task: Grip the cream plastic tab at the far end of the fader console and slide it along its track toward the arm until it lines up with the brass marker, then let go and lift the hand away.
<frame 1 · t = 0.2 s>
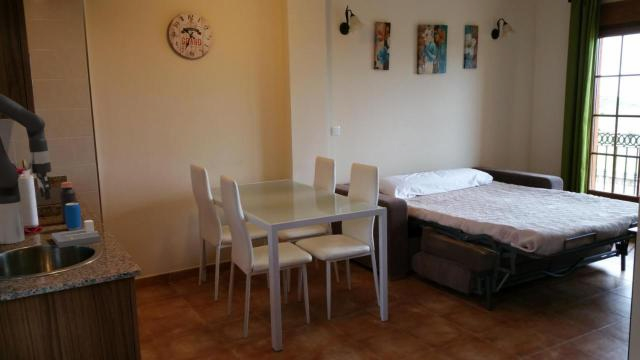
hand: (45, 198, 228), 17 cm above the worktop, tool pointing down, fingers open, 8 cm apart
beverage can: (74, 229, 245), on the worktop
fader tab: (89, 226, 226), point 5 cm above the worktop, slide at 8.0 cm
fader console: (76, 240, 224), on the worktop
bottle: (70, 222, 258), on the worktop
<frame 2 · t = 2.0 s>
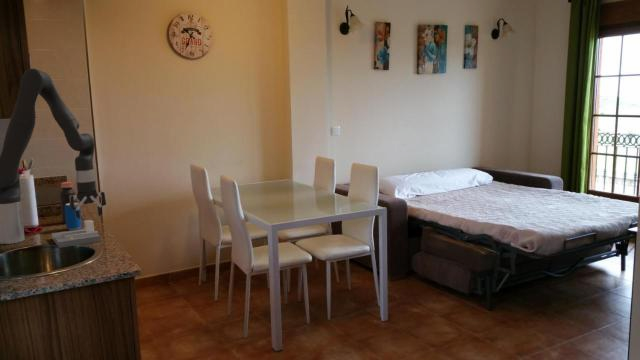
hand: (89, 217, 225), 9 cm above the worktop, tool pointing down, fingers open, 8 cm apart
nothing on the worktop moved.
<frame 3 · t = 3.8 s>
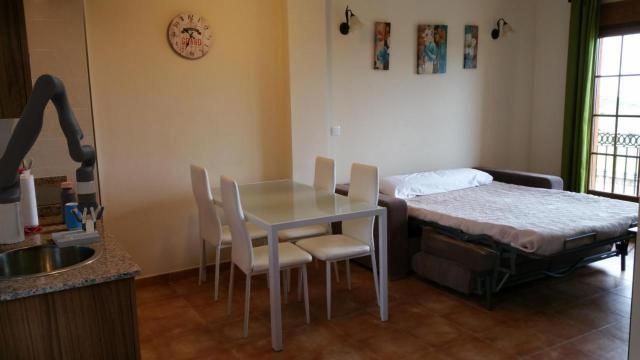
hand: (89, 230, 226), 4 cm above the worktop, tool pointing down, fingers closed on fader tab, 3 cm apart
fader tab: (89, 226, 226), point 5 cm above the worktop, slide at 8.0 cm, touching gripper
everything else where it was.
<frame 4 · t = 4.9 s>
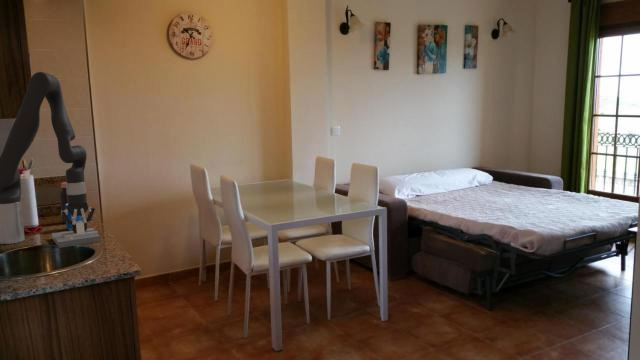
hand: (79, 231, 224), 4 cm above the worktop, tool pointing down, fingers closed on fader tab, 3 cm apart
fader tab: (79, 227, 223), point 5 cm above the worktop, slide at 4.1 cm, touching gripper
everything else where it was.
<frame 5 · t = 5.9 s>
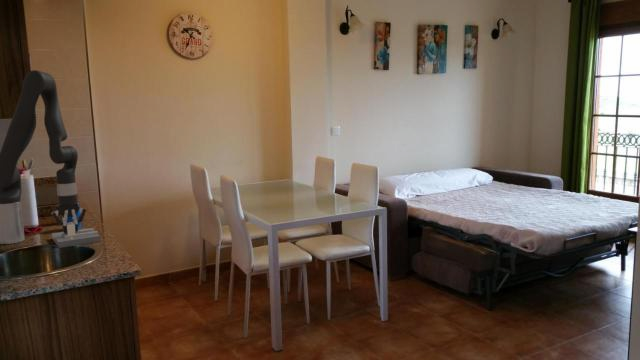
hand: (70, 233, 222), 4 cm above the worktop, tool pointing down, fingers closed on fader tab, 3 cm apart
fader tab: (70, 229, 221), point 5 cm above the worktop, slide at 0.5 cm, touching gripper
everything else where it was.
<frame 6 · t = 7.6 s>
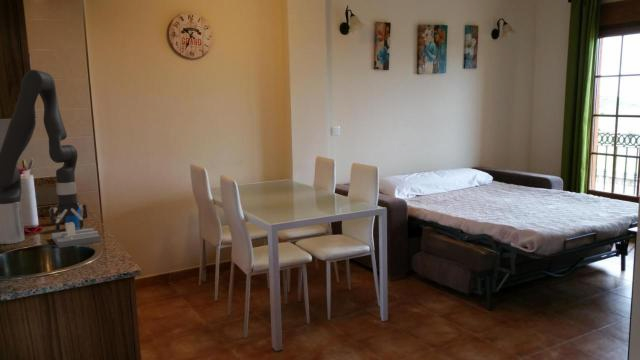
hand: (69, 229, 221), 5 cm above the worktop, tool pointing down, fingers open, 8 cm apart
fader tab: (70, 229, 221), point 5 cm above the worktop, slide at 0.5 cm
everything else where it was.
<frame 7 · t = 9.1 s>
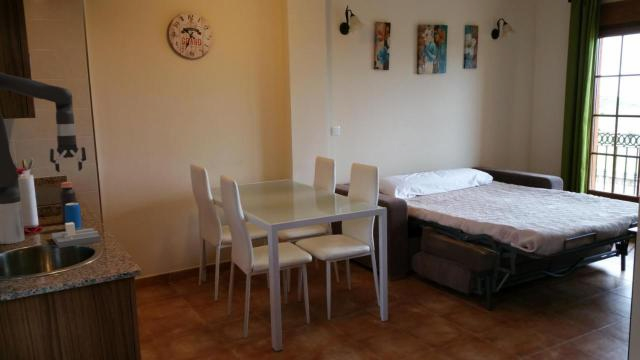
hand: (69, 171, 228), 29 cm above the worktop, tool pointing down, fingers open, 8 cm apart
nothing on the worktop moved.
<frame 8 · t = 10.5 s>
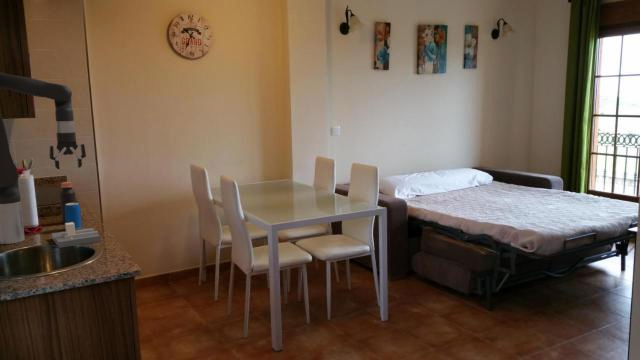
hand: (69, 168, 229), 30 cm above the worktop, tool pointing down, fingers open, 8 cm apart
nothing on the worktop moved.
at the end: fader tab slide at 0.5 cm; the gripper is holding nothing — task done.
